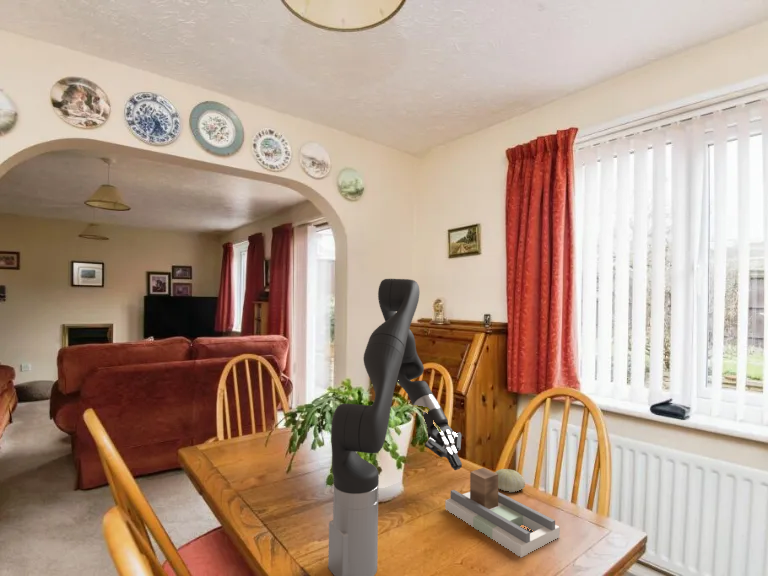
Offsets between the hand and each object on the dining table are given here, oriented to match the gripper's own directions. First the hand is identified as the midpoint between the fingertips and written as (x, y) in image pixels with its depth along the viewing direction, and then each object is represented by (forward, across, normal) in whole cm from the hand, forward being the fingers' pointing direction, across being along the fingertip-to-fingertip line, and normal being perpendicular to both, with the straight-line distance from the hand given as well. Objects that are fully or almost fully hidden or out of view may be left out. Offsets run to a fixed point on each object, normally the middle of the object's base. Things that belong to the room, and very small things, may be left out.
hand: (458, 468), depth 115 cm
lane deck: (+16, 0, -4) cm, 17 cm away
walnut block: (+11, 0, -2) cm, 11 cm away
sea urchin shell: (+8, +18, +4) cm, 20 cm away
